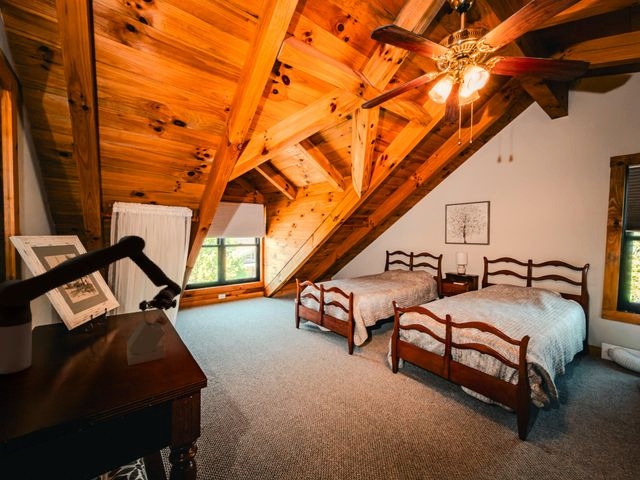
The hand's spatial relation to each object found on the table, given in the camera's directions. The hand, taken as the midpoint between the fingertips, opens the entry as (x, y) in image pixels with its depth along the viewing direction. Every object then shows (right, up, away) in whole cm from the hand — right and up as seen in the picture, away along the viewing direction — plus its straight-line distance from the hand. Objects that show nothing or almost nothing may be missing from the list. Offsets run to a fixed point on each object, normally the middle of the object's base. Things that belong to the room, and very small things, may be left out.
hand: (154, 308), depth 119 cm
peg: (-6, -16, -1) cm, 17 cm away
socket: (-4, -20, 0) cm, 21 cm away
